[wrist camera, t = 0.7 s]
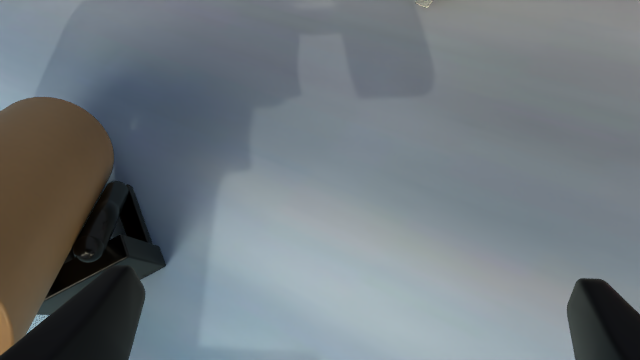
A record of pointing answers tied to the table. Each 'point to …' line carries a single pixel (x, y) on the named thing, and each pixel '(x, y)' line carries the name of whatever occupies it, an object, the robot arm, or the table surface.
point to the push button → (424, 3)
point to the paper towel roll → (43, 199)
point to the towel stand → (105, 246)
